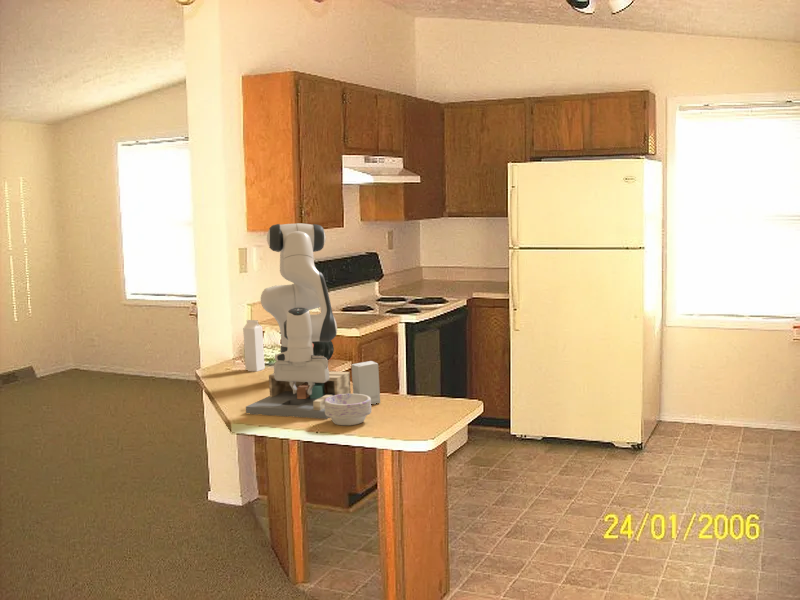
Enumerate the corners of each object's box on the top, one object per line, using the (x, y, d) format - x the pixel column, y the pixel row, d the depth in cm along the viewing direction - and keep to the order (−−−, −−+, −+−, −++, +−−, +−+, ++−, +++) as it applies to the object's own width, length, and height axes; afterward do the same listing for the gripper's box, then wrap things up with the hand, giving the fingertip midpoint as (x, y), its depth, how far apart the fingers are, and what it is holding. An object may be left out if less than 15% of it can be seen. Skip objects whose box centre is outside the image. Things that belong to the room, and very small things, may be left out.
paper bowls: (358, 429, 271) (357, 405, 270) (316, 426, 278) (315, 402, 277) (379, 418, 285) (378, 394, 284) (339, 414, 291) (338, 391, 290)
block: (312, 395, 311) (311, 383, 310) (324, 395, 310) (324, 383, 310) (310, 398, 306) (309, 386, 306) (322, 398, 306) (322, 385, 305)
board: (282, 396, 322) (282, 390, 321) (358, 400, 310) (358, 394, 310) (246, 413, 298) (245, 406, 297) (326, 418, 286) (326, 411, 286)
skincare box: (373, 400, 309) (372, 360, 308) (381, 404, 304) (379, 362, 302) (352, 404, 306) (350, 363, 304) (359, 407, 300) (357, 365, 299)
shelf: (284, 390, 321) (283, 369, 320) (350, 393, 311) (349, 371, 310) (269, 397, 311) (268, 375, 310) (337, 400, 301) (336, 378, 300)
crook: (305, 393, 314) (305, 382, 314) (327, 392, 313) (327, 381, 313) (297, 399, 298) (296, 387, 298) (320, 398, 297) (319, 387, 297)
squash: (307, 345, 401) (301, 325, 390) (338, 346, 398) (333, 326, 387) (301, 370, 392) (294, 350, 380) (333, 371, 389) (327, 351, 378)
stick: (326, 403, 298) (326, 394, 298) (333, 403, 297) (332, 394, 297) (313, 409, 289) (313, 401, 289) (320, 410, 288) (319, 401, 288)
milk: (256, 371, 372) (253, 321, 370) (245, 370, 375) (242, 320, 372) (265, 368, 378) (262, 319, 375) (253, 368, 380) (250, 318, 378)
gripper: (331, 354, 297) (333, 393, 299) (279, 352, 305) (281, 391, 306) (323, 357, 291) (325, 397, 293) (270, 355, 299) (272, 394, 300)
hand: (302, 394), depth 300 cm, fingers closed on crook, 4 cm apart
